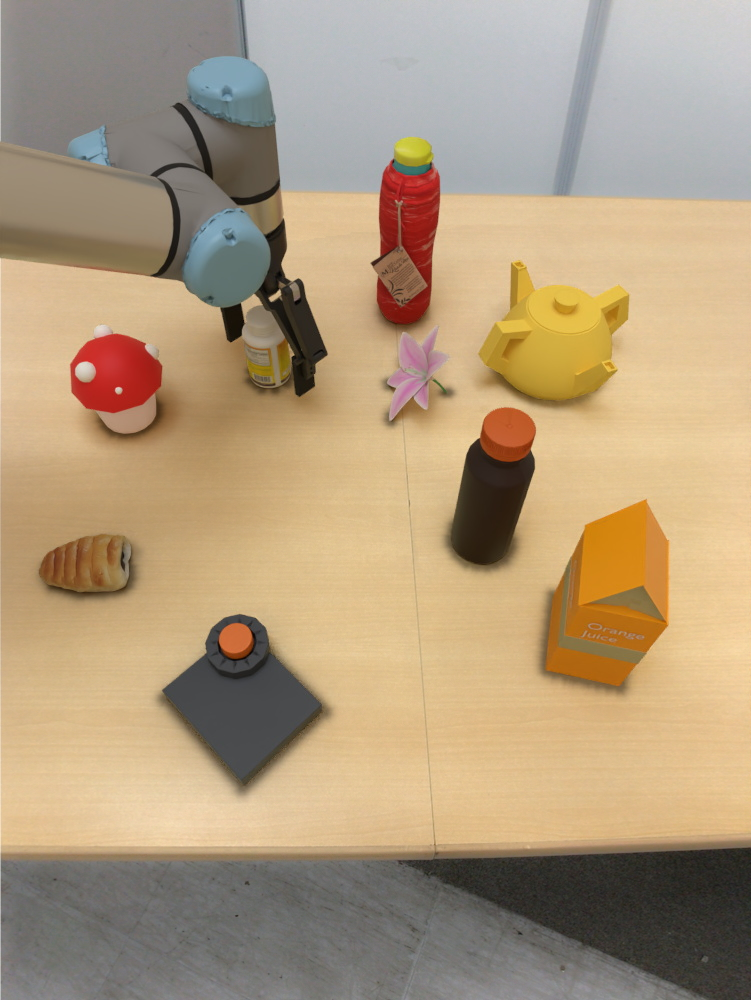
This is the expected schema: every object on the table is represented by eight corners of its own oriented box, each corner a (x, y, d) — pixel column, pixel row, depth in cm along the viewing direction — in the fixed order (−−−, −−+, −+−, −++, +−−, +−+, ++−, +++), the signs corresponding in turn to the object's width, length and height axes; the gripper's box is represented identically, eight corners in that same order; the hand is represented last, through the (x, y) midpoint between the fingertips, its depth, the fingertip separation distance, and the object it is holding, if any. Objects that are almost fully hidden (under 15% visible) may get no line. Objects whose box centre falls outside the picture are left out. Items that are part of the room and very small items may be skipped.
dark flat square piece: (159, 689, 74) (151, 676, 71) (245, 618, 78) (241, 603, 76) (243, 786, 69) (238, 776, 66) (330, 703, 73) (329, 691, 70)
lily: (407, 356, 102) (376, 317, 94) (487, 354, 96) (460, 312, 88) (386, 434, 99) (352, 401, 91) (467, 438, 93) (438, 402, 85)
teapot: (469, 390, 97) (482, 321, 88) (502, 310, 106) (517, 239, 97) (596, 426, 94) (624, 358, 85) (618, 341, 103) (646, 270, 93)
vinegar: (440, 525, 85) (460, 410, 69) (492, 508, 87) (524, 391, 70) (466, 573, 82) (493, 464, 65) (520, 554, 83) (560, 443, 67)
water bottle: (414, 354, 101) (428, 186, 80) (359, 339, 102) (359, 171, 82) (439, 298, 108) (458, 130, 87) (387, 285, 109) (394, 117, 88)
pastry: (41, 602, 79) (27, 585, 76) (48, 548, 83) (36, 529, 80) (130, 592, 80) (121, 575, 77) (133, 539, 84) (125, 520, 81)
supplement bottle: (283, 355, 100) (276, 295, 92) (297, 383, 98) (291, 324, 89) (244, 366, 99) (233, 306, 91) (256, 395, 96) (246, 336, 88)
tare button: (214, 644, 73) (212, 637, 72) (239, 623, 75) (237, 616, 73) (235, 665, 72) (232, 659, 71) (260, 644, 73) (258, 637, 72)
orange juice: (623, 610, 80) (692, 506, 63) (620, 687, 75) (694, 596, 58) (551, 595, 81) (600, 488, 64) (543, 670, 76) (594, 576, 59)
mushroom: (144, 370, 98) (120, 299, 88) (192, 417, 94) (172, 348, 84) (72, 411, 94) (39, 340, 84) (118, 462, 90) (89, 394, 80)
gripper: (356, 258, 76) (357, 398, 93) (204, 158, 85) (231, 302, 103) (301, 292, 73) (313, 430, 90) (150, 185, 82) (188, 329, 100)
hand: (270, 362), depth 97 cm, fingers open, 13 cm apart
